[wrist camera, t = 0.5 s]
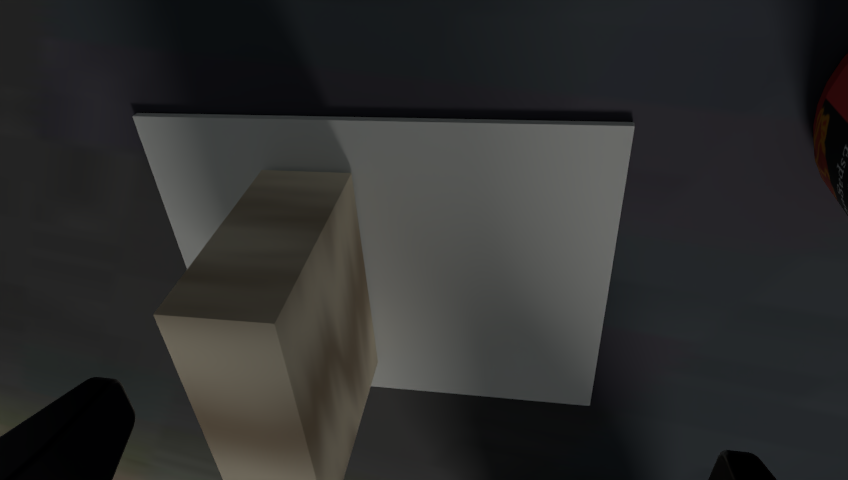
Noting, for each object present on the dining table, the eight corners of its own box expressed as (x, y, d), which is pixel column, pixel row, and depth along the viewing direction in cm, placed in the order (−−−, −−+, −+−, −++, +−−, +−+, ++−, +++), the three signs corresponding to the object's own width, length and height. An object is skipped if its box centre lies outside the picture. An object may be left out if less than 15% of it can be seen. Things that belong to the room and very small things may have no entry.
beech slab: (379, 358, 29) (329, 526, 22) (307, 352, 29) (237, 515, 23) (353, 170, 23) (274, 323, 16) (263, 167, 23) (153, 314, 17)
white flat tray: (589, 400, 28) (589, 406, 28) (226, 368, 31) (224, 372, 31) (633, 122, 20) (634, 125, 20) (136, 113, 23) (132, 116, 23)
